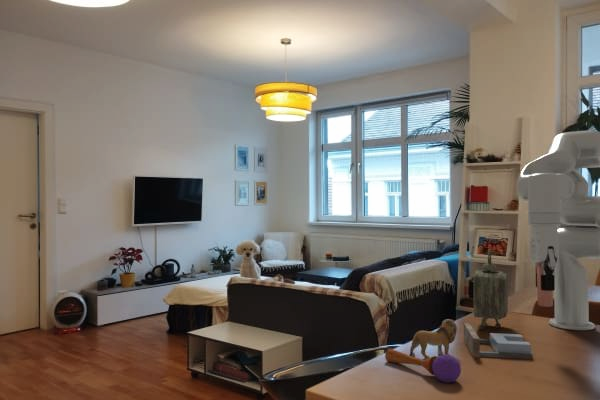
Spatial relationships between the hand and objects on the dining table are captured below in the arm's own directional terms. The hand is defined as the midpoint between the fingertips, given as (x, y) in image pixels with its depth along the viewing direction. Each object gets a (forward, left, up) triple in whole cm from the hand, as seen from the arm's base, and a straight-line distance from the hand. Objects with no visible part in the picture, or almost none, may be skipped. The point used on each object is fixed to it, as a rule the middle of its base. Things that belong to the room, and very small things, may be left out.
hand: (545, 288), depth 125 cm
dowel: (0, 0, -5) cm, 5 cm away
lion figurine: (+8, -29, -17) cm, 35 cm away
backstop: (0, -12, -17) cm, 21 cm away
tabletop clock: (-24, -9, -17) cm, 31 cm away
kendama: (+21, -33, -17) cm, 43 cm away
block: (0, -9, -17) cm, 19 cm away
